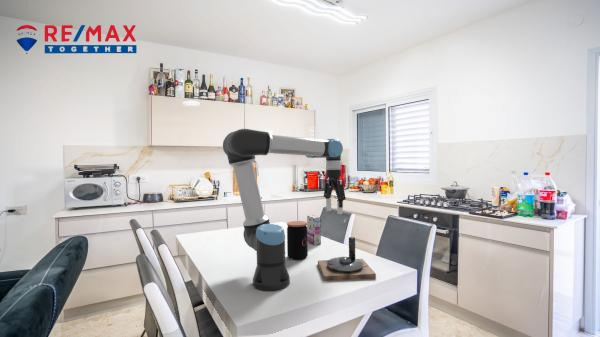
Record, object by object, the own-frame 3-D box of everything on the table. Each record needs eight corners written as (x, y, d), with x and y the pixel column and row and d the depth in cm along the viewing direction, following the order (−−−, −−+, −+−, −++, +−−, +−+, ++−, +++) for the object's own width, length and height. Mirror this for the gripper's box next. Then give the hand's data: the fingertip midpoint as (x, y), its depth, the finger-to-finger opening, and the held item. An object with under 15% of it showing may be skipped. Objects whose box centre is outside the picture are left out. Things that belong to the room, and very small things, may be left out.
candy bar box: (321, 244, 179) (321, 217, 179) (313, 245, 177) (313, 218, 177) (314, 240, 189) (313, 214, 189) (306, 240, 188) (306, 215, 187)
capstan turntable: (350, 275, 123) (350, 247, 123) (320, 267, 133) (319, 241, 133) (369, 264, 135) (368, 239, 135) (339, 258, 145) (339, 234, 145)
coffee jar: (305, 260, 149) (305, 225, 149) (285, 259, 151) (284, 224, 151) (309, 254, 160) (308, 221, 159) (290, 253, 162) (289, 220, 162)
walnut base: (324, 280, 123) (324, 275, 123) (317, 264, 143) (317, 260, 143) (375, 278, 125) (375, 273, 125) (362, 262, 145) (362, 258, 145)
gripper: (352, 169, 142) (353, 215, 143) (328, 168, 163) (329, 208, 164) (339, 169, 139) (340, 216, 140) (316, 169, 160) (317, 209, 161)
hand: (334, 212), depth 152 cm, fingers open, 10 cm apart
